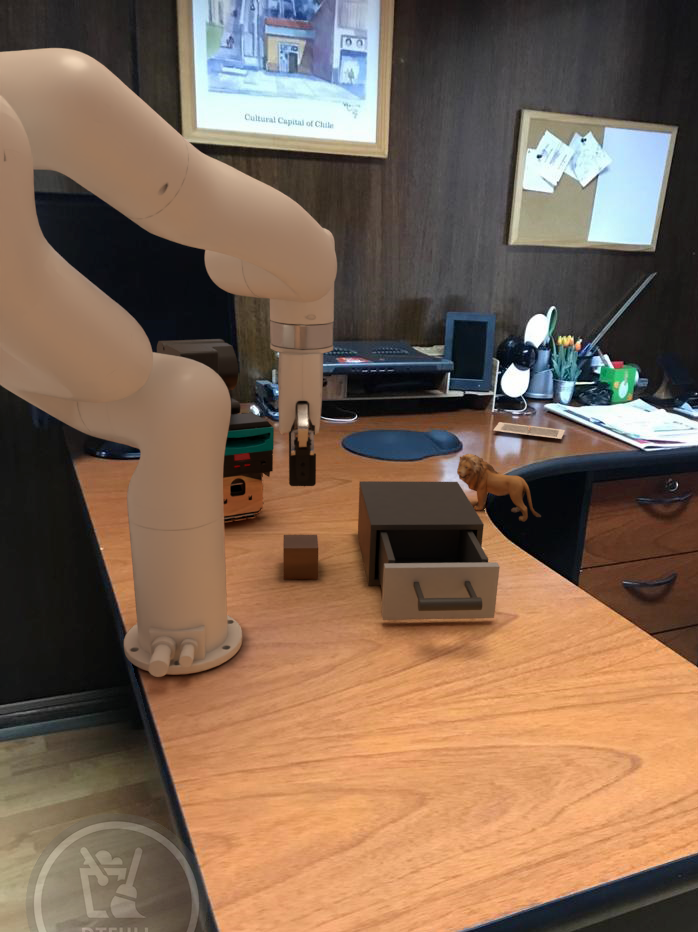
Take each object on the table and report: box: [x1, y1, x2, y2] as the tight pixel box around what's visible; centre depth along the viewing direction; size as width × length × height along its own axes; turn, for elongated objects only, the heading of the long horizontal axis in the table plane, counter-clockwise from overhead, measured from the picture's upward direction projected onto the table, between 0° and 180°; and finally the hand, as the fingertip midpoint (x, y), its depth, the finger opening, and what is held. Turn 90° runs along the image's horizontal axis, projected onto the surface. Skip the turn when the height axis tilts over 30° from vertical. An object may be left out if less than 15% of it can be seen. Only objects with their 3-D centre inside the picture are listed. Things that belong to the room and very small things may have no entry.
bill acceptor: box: [156, 338, 275, 523], centre depth 120 cm, size 10×23×25 cm, turn 33°
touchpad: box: [493, 421, 566, 440], centre depth 173 cm, size 8×15×2 cm, turn 72°
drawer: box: [375, 530, 501, 621], centre depth 94 cm, size 21×13×7 cm, turn 7°
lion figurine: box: [456, 453, 542, 522], centre depth 126 cm, size 15×5×9 cm, turn 66°
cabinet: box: [357, 480, 485, 586], centre depth 107 cm, size 17×15×9 cm
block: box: [282, 534, 319, 580], centre depth 103 cm, size 4×4×4 cm
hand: (301, 472), depth 98 cm, fingers open, 9 cm apart
